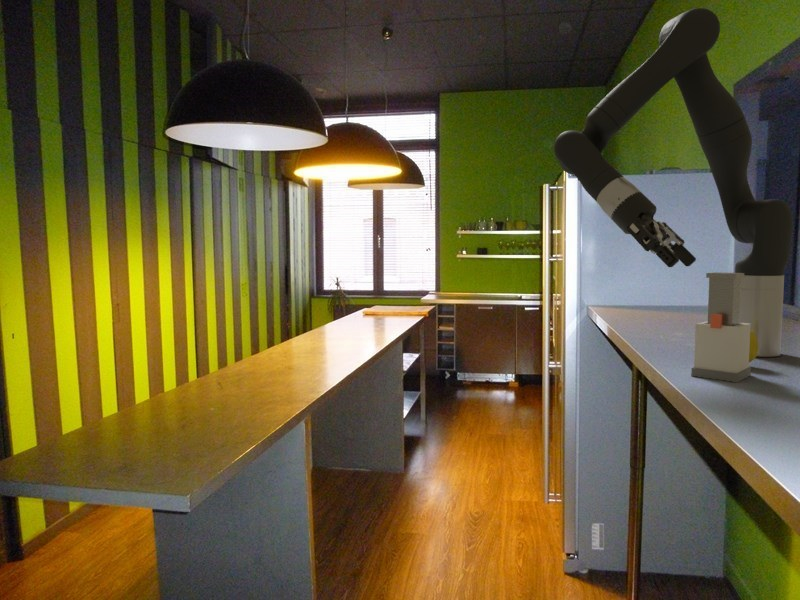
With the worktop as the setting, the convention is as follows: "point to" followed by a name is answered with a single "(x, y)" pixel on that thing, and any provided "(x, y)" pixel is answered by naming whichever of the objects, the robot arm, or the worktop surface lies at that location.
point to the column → (724, 296)
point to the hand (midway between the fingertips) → (683, 263)
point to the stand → (722, 350)
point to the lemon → (753, 346)
